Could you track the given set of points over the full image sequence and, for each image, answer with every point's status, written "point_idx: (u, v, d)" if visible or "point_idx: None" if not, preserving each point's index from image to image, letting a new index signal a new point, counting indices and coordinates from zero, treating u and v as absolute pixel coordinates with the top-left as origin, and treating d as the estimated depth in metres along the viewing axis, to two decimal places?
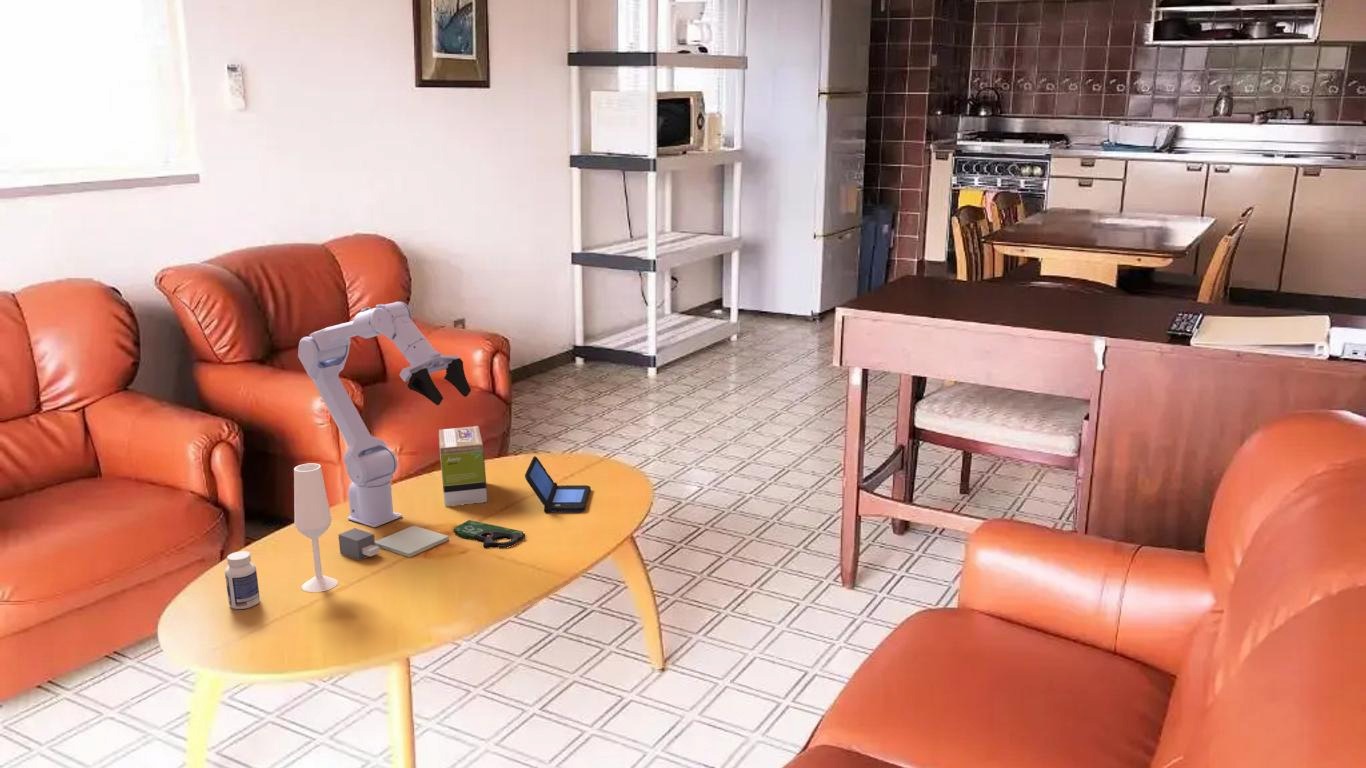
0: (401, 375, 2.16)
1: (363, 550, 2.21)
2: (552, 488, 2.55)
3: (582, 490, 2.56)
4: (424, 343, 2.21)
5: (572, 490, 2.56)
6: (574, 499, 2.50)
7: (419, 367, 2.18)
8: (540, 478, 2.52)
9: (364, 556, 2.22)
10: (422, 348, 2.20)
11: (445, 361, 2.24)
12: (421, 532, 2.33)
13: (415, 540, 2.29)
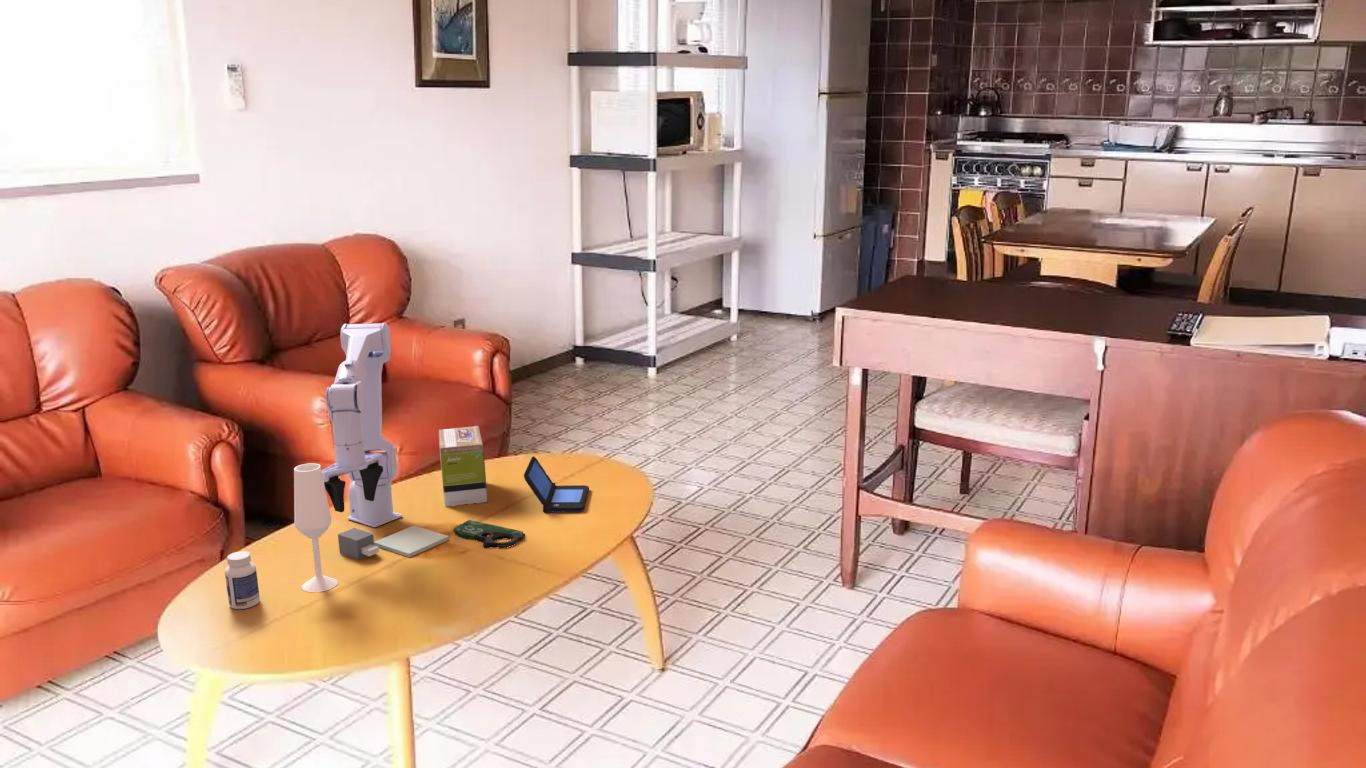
0: None
1: (362, 550, 2.21)
2: (551, 488, 2.55)
3: (581, 490, 2.56)
4: (358, 448, 2.17)
5: (571, 490, 2.56)
6: (572, 498, 2.50)
7: None
8: (539, 478, 2.52)
9: (363, 556, 2.22)
10: (353, 454, 2.17)
11: None
12: (421, 532, 2.33)
13: (415, 540, 2.29)
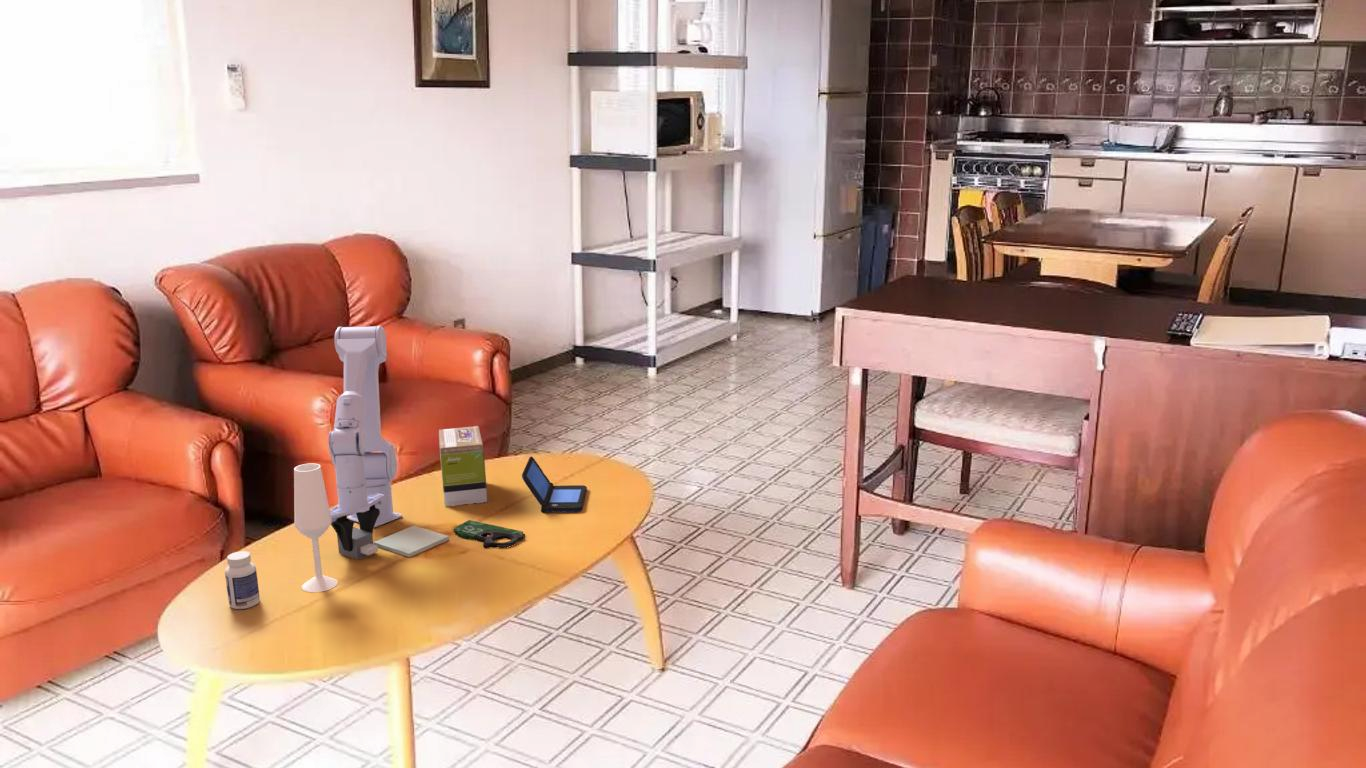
0: None
1: (362, 549, 2.22)
2: (549, 488, 2.55)
3: (579, 490, 2.56)
4: (360, 491, 2.19)
5: (569, 490, 2.56)
6: (570, 498, 2.50)
7: None
8: (537, 478, 2.52)
9: (363, 555, 2.23)
10: (356, 497, 2.19)
11: None
12: (421, 532, 2.33)
13: (415, 540, 2.29)
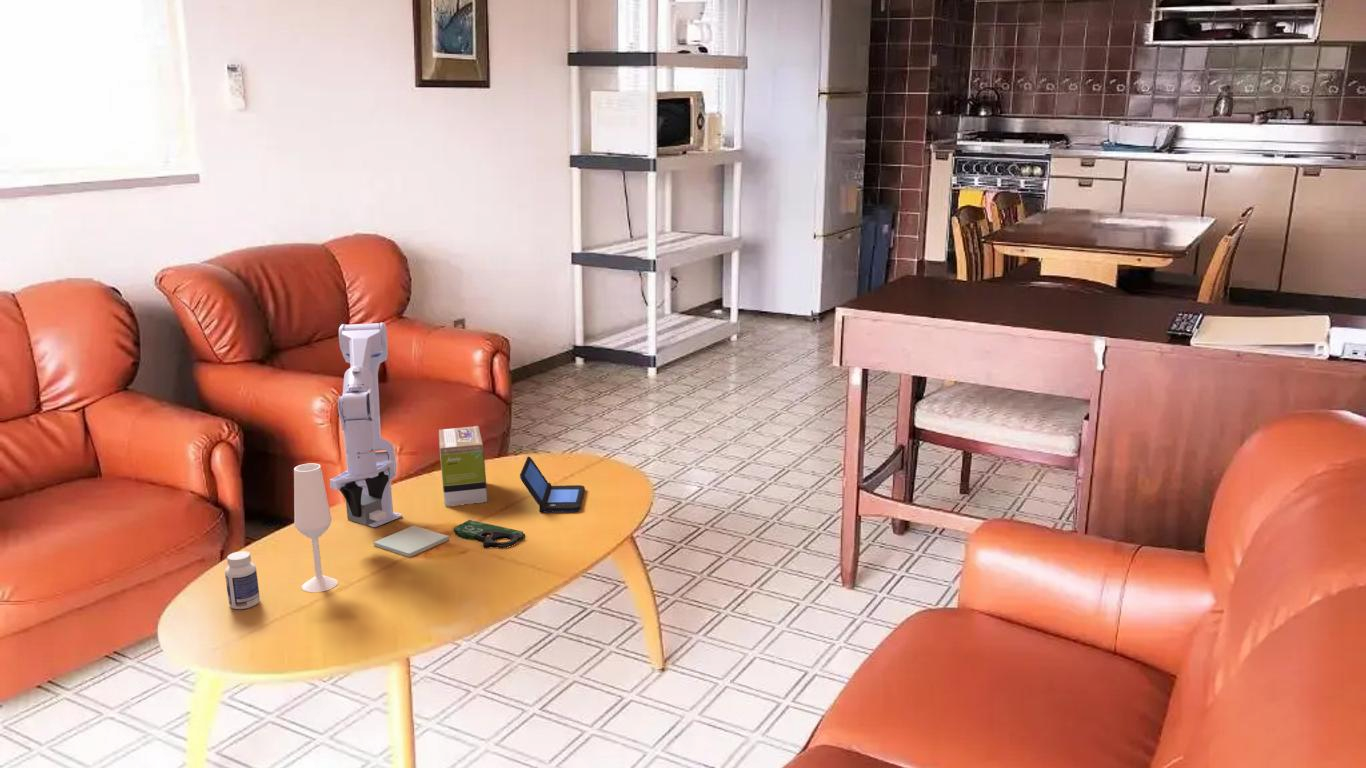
0: (331, 482, 2.16)
1: (370, 515, 2.21)
2: (546, 488, 2.55)
3: (576, 490, 2.56)
4: (369, 457, 2.19)
5: (566, 490, 2.56)
6: (568, 498, 2.50)
7: None
8: (535, 478, 2.52)
9: (371, 521, 2.22)
10: (365, 462, 2.18)
11: None
12: (421, 532, 2.33)
13: (415, 540, 2.29)
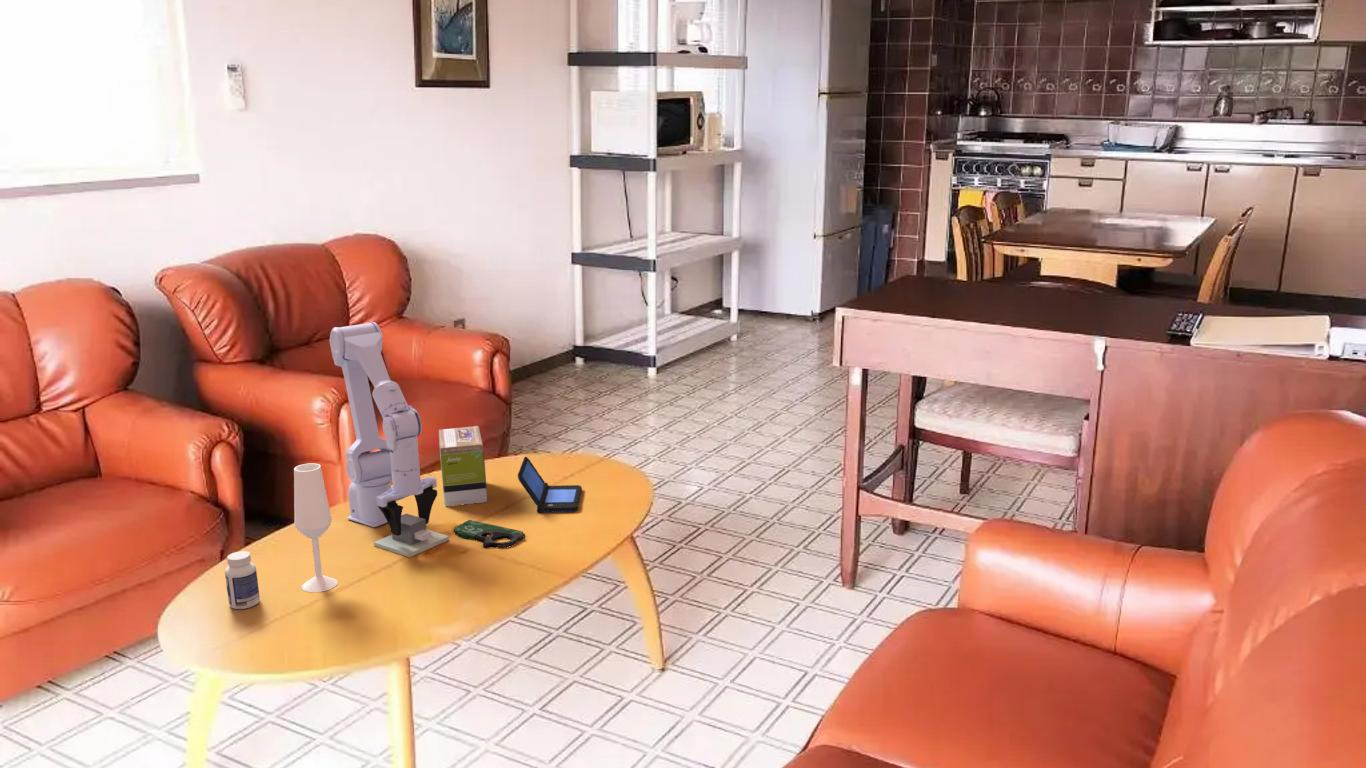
0: (378, 499, 2.21)
1: (416, 535, 2.26)
2: (544, 488, 2.55)
3: (574, 490, 2.56)
4: (415, 474, 2.24)
5: (564, 490, 2.56)
6: (566, 498, 2.50)
7: None
8: (532, 478, 2.52)
9: (416, 540, 2.27)
10: (410, 480, 2.24)
11: None
12: None
13: None
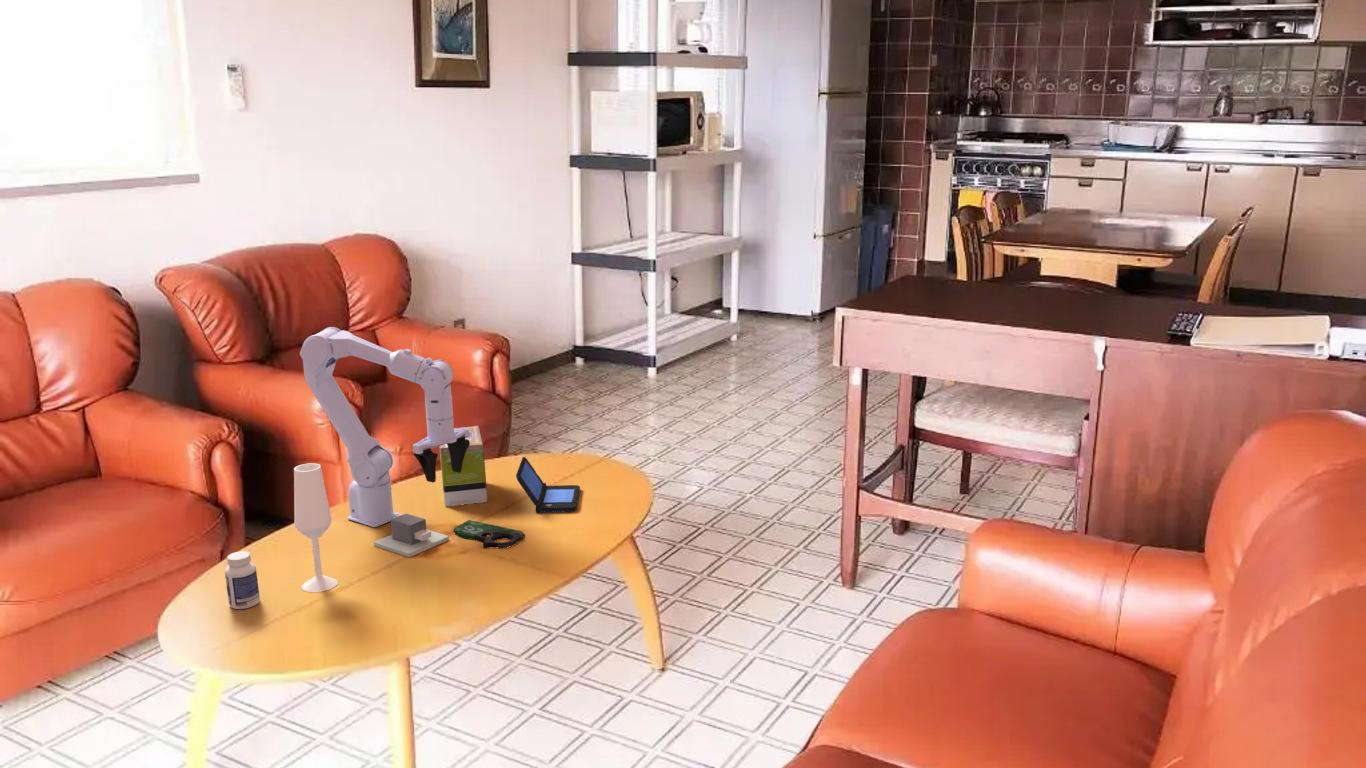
0: (414, 447, 2.31)
1: (416, 535, 2.26)
2: (542, 488, 2.55)
3: (572, 490, 2.56)
4: (449, 423, 2.34)
5: (562, 490, 2.56)
6: (564, 498, 2.50)
7: None
8: (530, 478, 2.51)
9: (416, 540, 2.27)
10: (444, 428, 2.34)
11: None
12: None
13: None
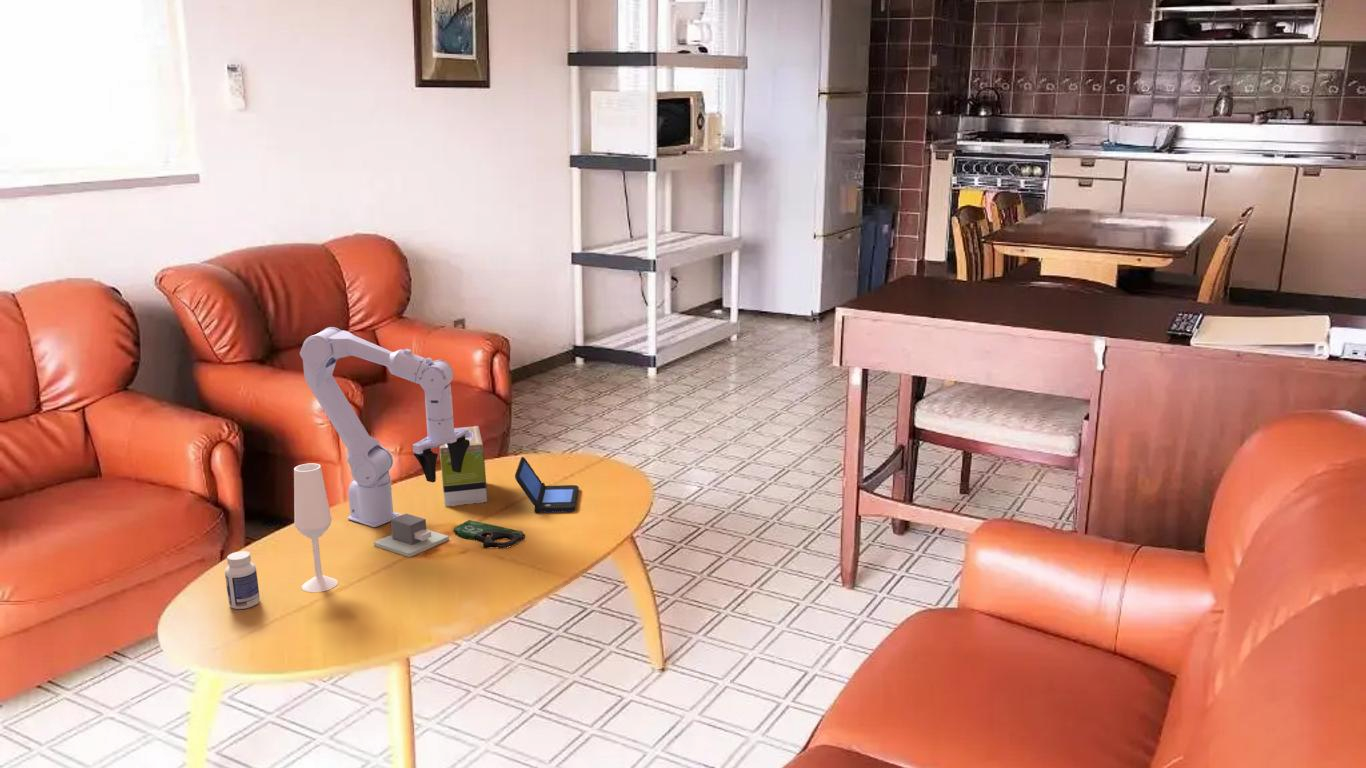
0: (414, 447, 2.31)
1: (416, 535, 2.26)
2: (541, 488, 2.55)
3: (571, 490, 2.56)
4: (449, 423, 2.34)
5: (561, 490, 2.56)
6: (563, 498, 2.50)
7: None
8: (529, 478, 2.51)
9: (416, 540, 2.27)
10: (444, 428, 2.34)
11: None
12: None
13: None
